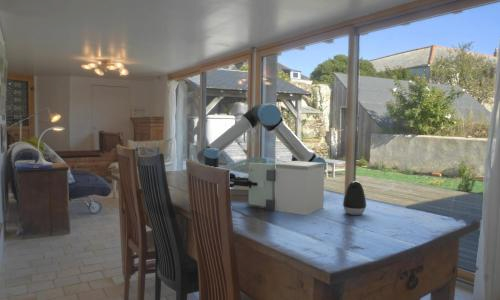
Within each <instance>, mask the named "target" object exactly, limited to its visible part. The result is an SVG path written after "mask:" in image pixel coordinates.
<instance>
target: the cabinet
mask: <svg viewBox="0 0 500 300" xmlns="http://www.w3.org/2000/svg"><path fill="white" fill-rule="evenodd" d="M275 169H276V172H275V211H274V212H281V213H288V214H295V215H301V216H308V215H310V214H313V213H315V212H317V211H319V210H321V209H324V197H325V196H324V192H325V191H324V189H325V172H324V163H318V162H304V161H292V160H291V161H285V162H279V163H275Z"/></svg>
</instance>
